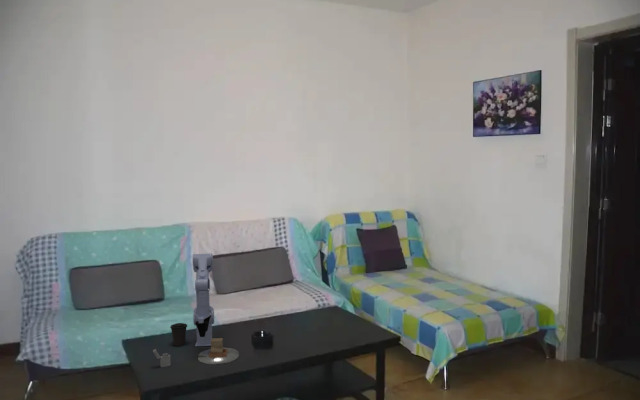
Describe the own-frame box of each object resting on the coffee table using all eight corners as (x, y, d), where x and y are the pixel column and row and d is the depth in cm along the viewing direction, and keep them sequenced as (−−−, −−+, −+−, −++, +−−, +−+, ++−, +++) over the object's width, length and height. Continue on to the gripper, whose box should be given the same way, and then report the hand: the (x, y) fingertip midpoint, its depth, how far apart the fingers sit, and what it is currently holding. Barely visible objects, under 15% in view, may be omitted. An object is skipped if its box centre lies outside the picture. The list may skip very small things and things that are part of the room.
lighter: (170, 364, 222) (169, 346, 222) (170, 365, 221) (170, 347, 220) (153, 367, 219) (152, 349, 218) (153, 368, 217) (153, 350, 217)
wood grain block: (211, 353, 232) (211, 338, 231) (223, 353, 232) (222, 338, 232) (211, 356, 229) (210, 340, 228) (222, 355, 229) (222, 340, 229)
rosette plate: (201, 350, 239) (201, 345, 239) (240, 348, 240) (240, 343, 240) (194, 365, 221) (194, 359, 221) (236, 363, 222) (236, 358, 222)
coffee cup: (183, 347, 242) (182, 327, 241) (167, 346, 244) (166, 326, 243) (190, 342, 250) (190, 322, 249) (175, 341, 252) (175, 321, 251)
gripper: (196, 300, 239) (197, 329, 240) (191, 309, 225) (192, 339, 226) (212, 300, 240) (212, 328, 241) (207, 308, 225) (208, 339, 226)
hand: (203, 333), depth 233 cm, fingers open, 7 cm apart
